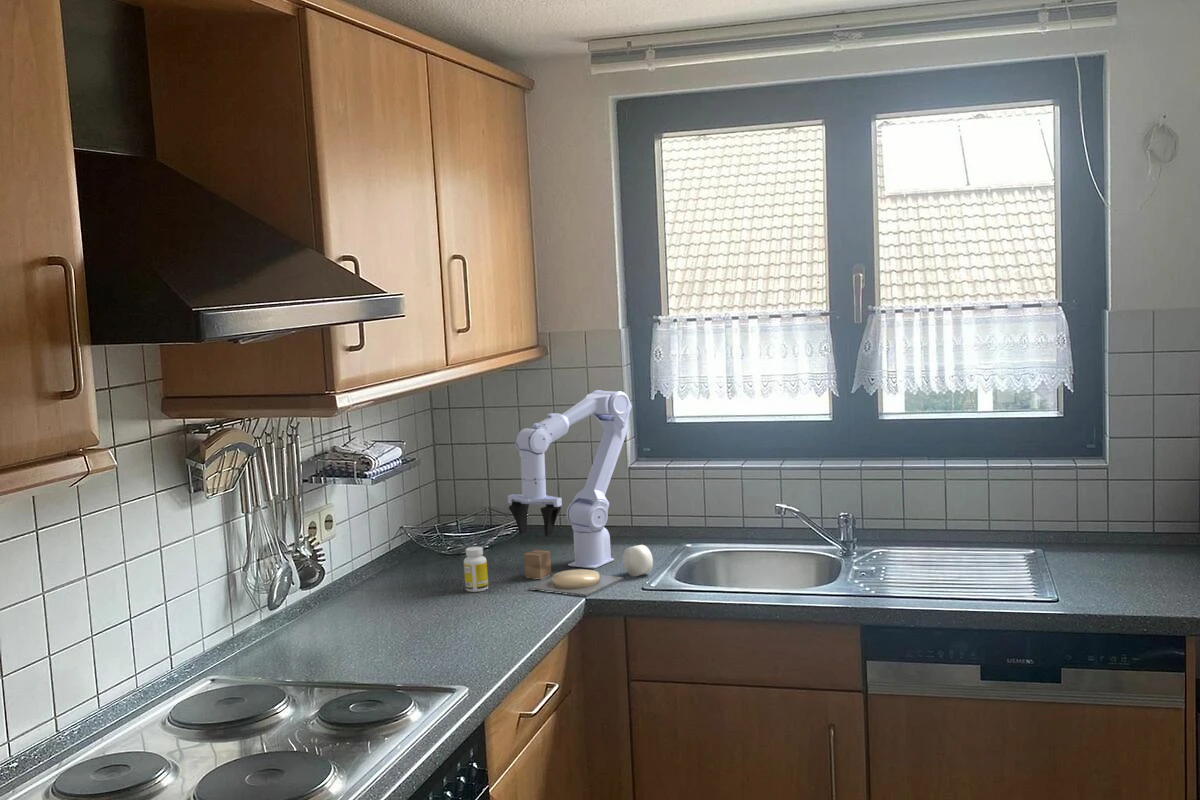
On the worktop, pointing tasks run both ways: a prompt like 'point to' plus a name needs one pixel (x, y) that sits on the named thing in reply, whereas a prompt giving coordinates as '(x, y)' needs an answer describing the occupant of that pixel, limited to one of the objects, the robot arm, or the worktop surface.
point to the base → (581, 590)
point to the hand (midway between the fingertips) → (535, 534)
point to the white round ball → (637, 560)
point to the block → (537, 564)
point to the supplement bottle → (475, 570)
